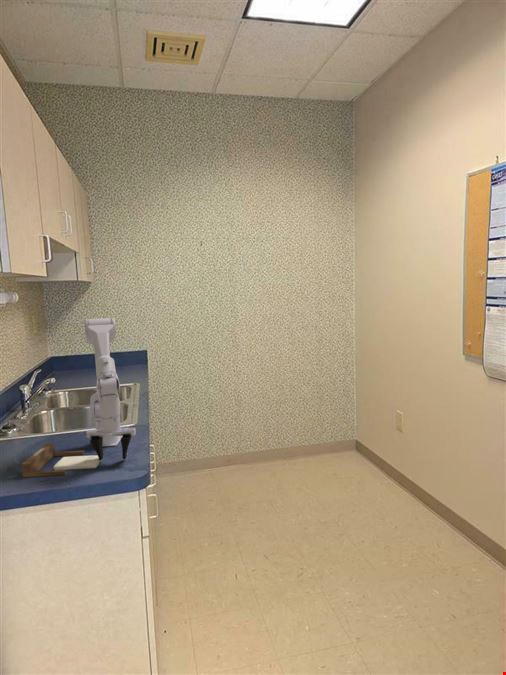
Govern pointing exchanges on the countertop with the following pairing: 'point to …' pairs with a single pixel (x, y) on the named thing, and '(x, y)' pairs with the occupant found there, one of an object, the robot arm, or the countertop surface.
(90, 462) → the external hard drive
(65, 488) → the countertop surface
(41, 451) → the dock
